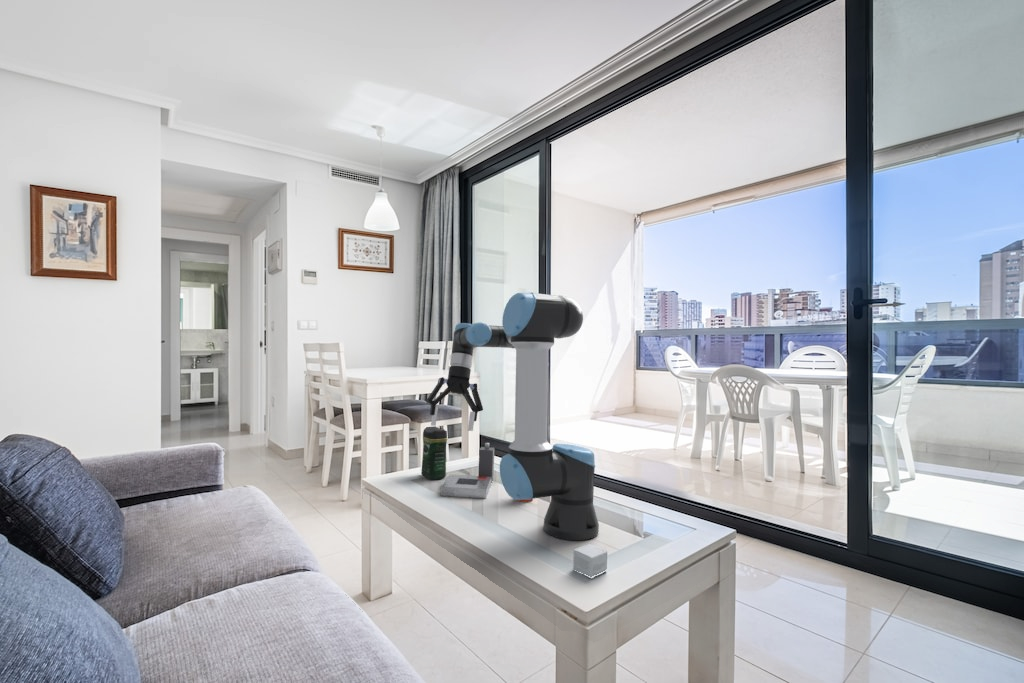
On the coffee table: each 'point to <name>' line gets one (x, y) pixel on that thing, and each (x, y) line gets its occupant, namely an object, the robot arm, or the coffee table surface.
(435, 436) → the coffee jar
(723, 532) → the coffee table surface
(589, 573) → the small box
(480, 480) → the socket plate
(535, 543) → the coffee table surface
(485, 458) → the plug
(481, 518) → the coffee table surface
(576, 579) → the coffee table surface
